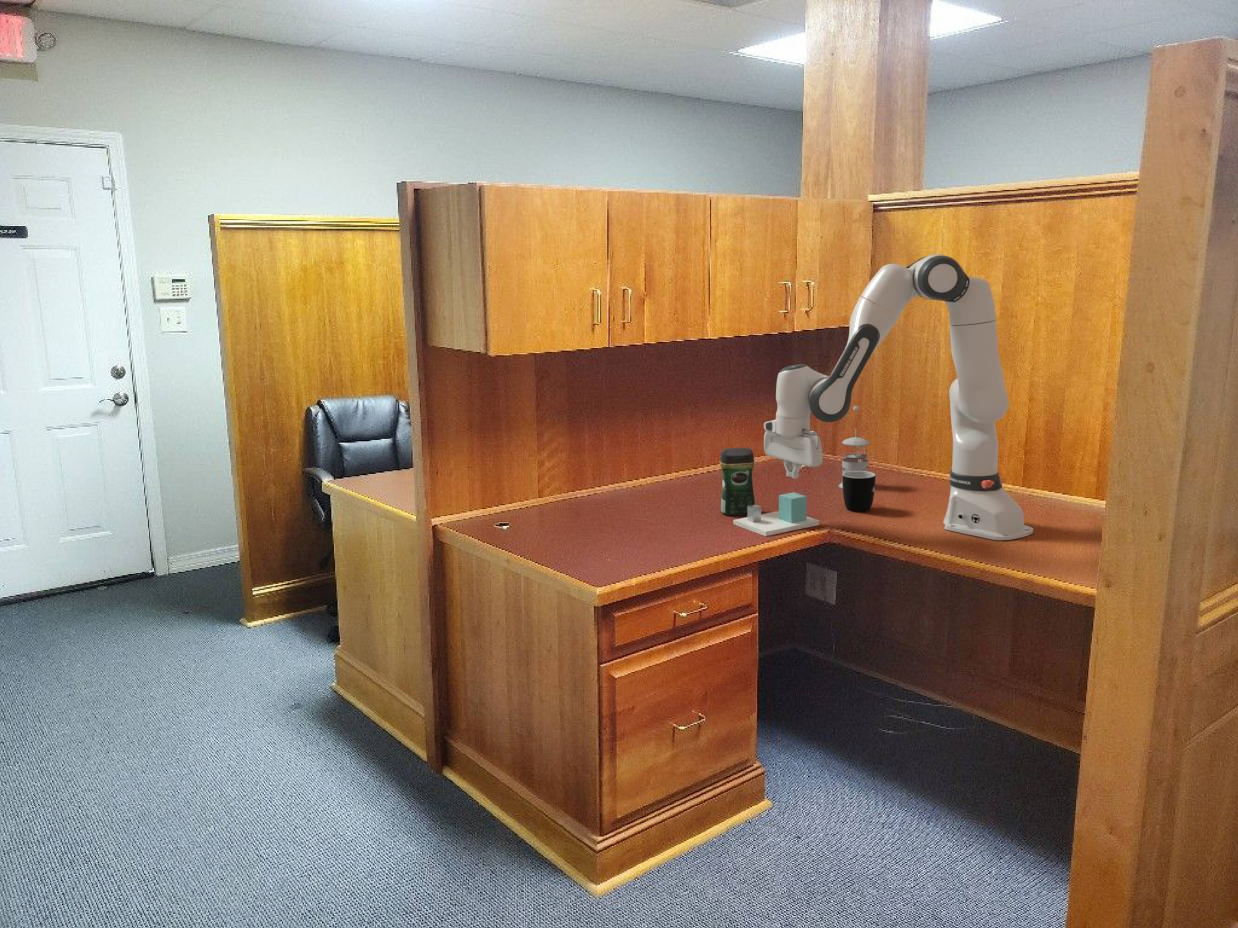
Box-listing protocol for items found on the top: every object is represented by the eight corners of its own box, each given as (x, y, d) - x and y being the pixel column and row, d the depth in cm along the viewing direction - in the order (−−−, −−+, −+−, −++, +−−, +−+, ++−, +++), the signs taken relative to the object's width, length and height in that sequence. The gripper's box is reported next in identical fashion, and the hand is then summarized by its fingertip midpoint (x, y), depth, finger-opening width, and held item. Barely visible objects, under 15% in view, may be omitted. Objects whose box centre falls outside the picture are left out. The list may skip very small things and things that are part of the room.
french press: (833, 487, 298) (834, 407, 293) (847, 480, 308) (848, 401, 303) (864, 491, 293) (866, 409, 288) (877, 483, 303) (879, 403, 297)
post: (761, 521, 261) (761, 506, 260) (753, 522, 259) (753, 508, 258) (755, 518, 263) (755, 504, 262) (747, 520, 262) (747, 506, 261)
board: (819, 524, 259) (819, 520, 259) (765, 536, 251) (765, 531, 251) (785, 513, 271) (785, 509, 271) (733, 524, 263) (733, 519, 263)
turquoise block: (806, 520, 260) (806, 496, 259) (791, 523, 258) (791, 499, 256) (794, 515, 264) (794, 492, 263) (778, 518, 262) (778, 495, 261)
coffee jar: (751, 508, 278) (751, 444, 275) (757, 515, 271) (757, 450, 267) (718, 509, 278) (717, 446, 274) (723, 517, 270) (722, 451, 266)
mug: (877, 513, 269) (878, 477, 267) (844, 513, 269) (844, 478, 267) (869, 502, 280) (870, 468, 278) (838, 502, 281) (838, 468, 279)
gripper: (828, 430, 248) (828, 483, 251) (778, 420, 266) (778, 469, 269) (809, 433, 245) (809, 486, 248) (759, 422, 263) (759, 472, 266)
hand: (792, 477), depth 259 cm, fingers closed
